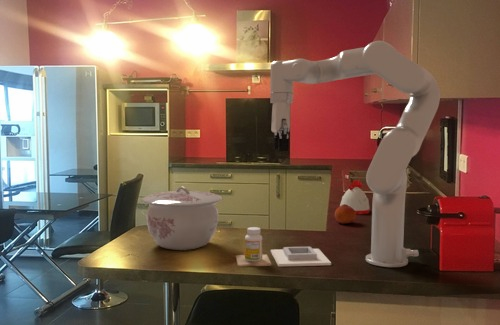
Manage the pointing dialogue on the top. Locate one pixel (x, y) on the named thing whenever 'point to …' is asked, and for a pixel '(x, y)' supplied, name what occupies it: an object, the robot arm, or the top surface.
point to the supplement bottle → (253, 245)
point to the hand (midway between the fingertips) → (280, 149)
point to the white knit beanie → (356, 198)
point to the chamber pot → (182, 218)
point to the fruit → (345, 214)
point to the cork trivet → (243, 262)
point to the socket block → (299, 257)
